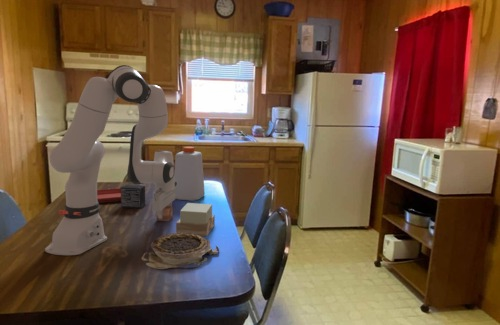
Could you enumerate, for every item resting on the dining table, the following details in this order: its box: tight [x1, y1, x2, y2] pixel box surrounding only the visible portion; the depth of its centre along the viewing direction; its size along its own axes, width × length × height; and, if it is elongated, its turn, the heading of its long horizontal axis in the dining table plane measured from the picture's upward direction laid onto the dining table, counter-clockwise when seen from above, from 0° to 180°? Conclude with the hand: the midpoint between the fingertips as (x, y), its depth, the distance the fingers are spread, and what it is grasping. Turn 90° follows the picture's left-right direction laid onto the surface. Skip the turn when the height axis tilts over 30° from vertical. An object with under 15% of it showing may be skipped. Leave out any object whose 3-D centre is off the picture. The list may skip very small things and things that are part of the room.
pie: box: [140, 232, 220, 270], centre depth 133 cm, size 28×27×5 cm
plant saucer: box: [97, 188, 121, 204], centre depth 196 cm, size 18×18×3 cm
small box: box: [120, 184, 146, 209], centre depth 183 cm, size 11×6×10 cm, turn 84°
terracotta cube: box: [155, 206, 173, 222], centre depth 166 cm, size 6×6×6 cm
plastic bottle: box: [174, 146, 205, 202], centre depth 199 cm, size 15×15×28 cm
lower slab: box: [175, 214, 216, 237], centre depth 155 cm, size 13×13×5 cm
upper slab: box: [179, 202, 213, 224], centre depth 155 cm, size 11×11×5 cm
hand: (164, 214), depth 166 cm, fingers open, 8 cm apart
